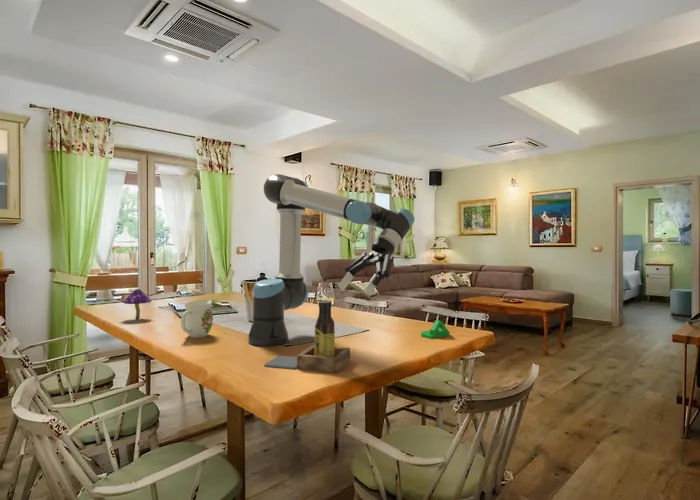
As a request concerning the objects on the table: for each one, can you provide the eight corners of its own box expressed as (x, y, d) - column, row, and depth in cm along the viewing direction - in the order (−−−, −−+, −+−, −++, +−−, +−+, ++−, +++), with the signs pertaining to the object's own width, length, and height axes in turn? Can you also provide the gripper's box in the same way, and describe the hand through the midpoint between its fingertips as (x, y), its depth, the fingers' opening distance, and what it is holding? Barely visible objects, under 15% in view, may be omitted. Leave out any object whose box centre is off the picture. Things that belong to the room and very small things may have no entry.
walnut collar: (297, 368, 121) (297, 355, 121) (312, 357, 134) (312, 345, 134) (338, 372, 118) (338, 359, 118) (349, 360, 130) (349, 348, 130)
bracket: (434, 332, 175) (435, 316, 174) (449, 335, 168) (449, 319, 168) (416, 336, 167) (416, 319, 167) (430, 339, 161) (430, 322, 161)
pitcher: (169, 340, 154) (169, 304, 154) (199, 330, 172) (199, 298, 172) (194, 342, 152) (194, 306, 151) (221, 332, 169) (221, 299, 169)
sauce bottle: (314, 361, 129) (314, 299, 128) (333, 361, 129) (334, 299, 129) (314, 367, 122) (314, 302, 122) (334, 367, 123) (335, 302, 122)
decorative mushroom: (118, 319, 195) (118, 288, 194) (145, 316, 204) (145, 286, 204) (129, 323, 187) (129, 290, 186) (156, 319, 196) (156, 288, 196)
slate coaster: (264, 366, 123) (264, 364, 123) (278, 357, 133) (278, 355, 133) (294, 369, 121) (294, 367, 121) (306, 359, 130) (306, 358, 130)
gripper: (418, 252, 133) (385, 301, 124) (367, 251, 153) (336, 294, 143) (407, 235, 130) (372, 285, 120) (357, 237, 149) (324, 280, 140)
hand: (353, 290), depth 132 cm, fingers open, 13 cm apart
